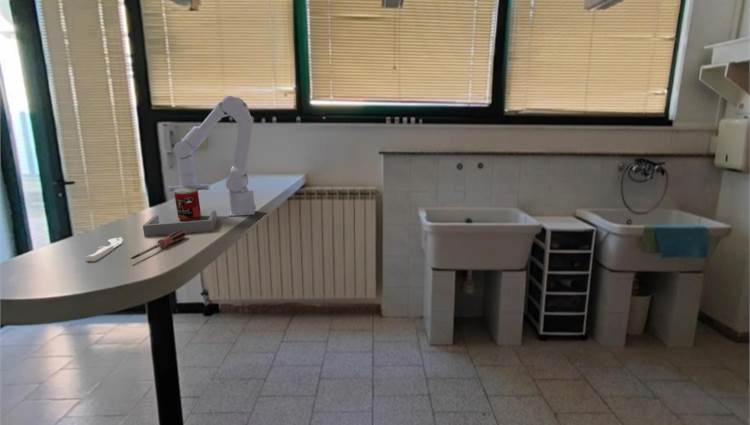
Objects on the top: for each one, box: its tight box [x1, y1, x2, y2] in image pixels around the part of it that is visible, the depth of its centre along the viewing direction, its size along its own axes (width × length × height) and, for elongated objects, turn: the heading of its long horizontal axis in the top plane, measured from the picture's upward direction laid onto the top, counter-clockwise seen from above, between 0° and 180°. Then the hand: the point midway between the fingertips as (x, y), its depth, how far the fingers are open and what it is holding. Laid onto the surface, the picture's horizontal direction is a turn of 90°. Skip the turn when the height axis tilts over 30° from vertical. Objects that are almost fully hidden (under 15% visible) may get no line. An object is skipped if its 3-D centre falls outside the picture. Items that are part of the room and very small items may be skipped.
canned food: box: [173, 186, 202, 222], centre depth 151 cm, size 8×8×11 cm
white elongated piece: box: [84, 237, 124, 262], centre depth 120 cm, size 30×2×8 cm
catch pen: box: [142, 210, 218, 237], centre depth 139 cm, size 20×15×4 cm
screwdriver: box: [129, 230, 187, 260], centre depth 116 cm, size 25×3×3 cm, turn 174°
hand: (191, 209), depth 157 cm, fingers closed, pressing on canned food
